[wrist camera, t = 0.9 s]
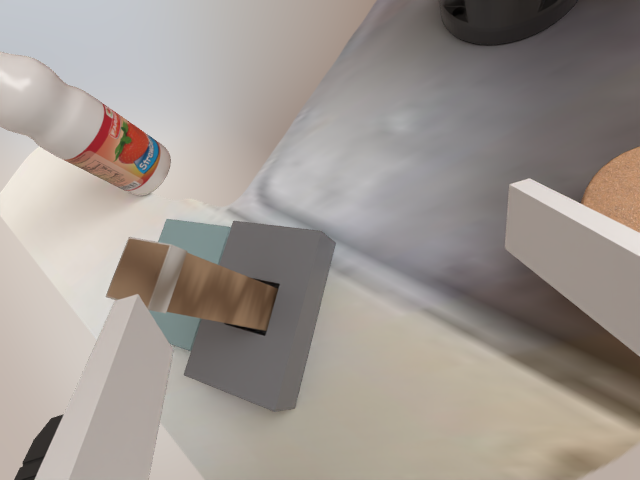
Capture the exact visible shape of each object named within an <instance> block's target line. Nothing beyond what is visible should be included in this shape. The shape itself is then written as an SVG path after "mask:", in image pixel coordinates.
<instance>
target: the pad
mask: <svg viewBox="0 0 640 480" xmlns="http://www.w3.org/2000/svg"><path fill="white" fill-rule="evenodd" d="M230 230H231V227H226V226H218V225H210V224H203V223H195V222H187V221H179V220H172V219H167V220H166V222H165V225H164V228H163V230H162V233H161V236H160V238H159V241H158V242H160V243H166V244H172V245H174V246H176V247H179V248H181V249H184V250H186V251H187V253H190V254H192V255H195V256H197V257H200V258H202V259H205V260H207V261H210V262H212V263H215V264H217V265H219V264H220V261H221V258H222V255H223V251H224V248H225V245H226V242H227V239H228V236H229V233H230ZM149 312H150V314H151V315H152V317H153V318H154V320H155V322H156V323H157V325H158V326H159V328H160V329H161V331H162V333H163V334H164V336H165V337H166V339H167V341H168V342H169V344H172V345H175V346H178V347H181V348H183V349H186V350H189V351H192V348H193V344H194V341H195V338H196V335H197V332H198V329H199V326H200V323H201V320H202V319H201V318H196V317H191V316H186V315H180V314H175V313H170V312H166V313H161V312H156V311H151V310H149Z"/></svg>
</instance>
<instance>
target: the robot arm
mask: <svg viewBox="0 0 640 480" xmlns="http://www.w3.org/2000/svg"><path fill="white" fill-rule="evenodd" d="M577 1H578V0H439V2H440V9H441V16H442V20H443V23H444V25H445V26H446V28H447V29H448V30H449V31H450V32H451V33H452V34H453V35H454V36H456V37H457V38H459V39H461V40H464V41H467V42H470V43H475V44H484V45H492V44H503V43H509V42H513V41H517V40H520V39H524V38H526V37H529V36H531V35H534V34H536V33H538V32H540V31H542V30H544V29H546V28H547V27H549V26H551V25H552V24H554V23H555V22H557V21H558V20H559V19H561V18H562V17H563V16H564V15H565V14H566V13H567V12H568V11H569V10H570V9H571V8H572V7H573V6H574V5H575V3H576V2H577ZM505 249H506V250H507V251H508V252H510V253H511V254H512V255H513V256H515V257H516V258H517V259H518V260H520V261H521V262H522V263H523V264H525V265H526V266H527V267H528V268H530V269H531V270H532V271H533V272H535V273H536V274H537V275H538V276H540V277H541V278H542V279H543V280H545V281H546V282H547V283H548V284H550V285H551V286H552V287H553V288H555V289H556V290H557V291H558V292H560V293H561V294H562V295H563V296H565V297H566V298H567V299H568V300H570V301H571V302H572V303H573V304H575V305H576V306H577V307H578V308H580V309H581V310H582V311H583V312H585V313H586V314H587V315H588V316H590V317H591V318H592V319H593V320H595V321H596V322H597V323H598V324H600V325H601V326H602V327H603V328H605V329H606V330H607V331H608V332H610V333H611V334H612V335H613V336H615V337H616V338H617V339H618V340H620V341H621V342H622V343H623V344H625V345H626V346H627V347H628V348H630V349H631V350H632V351H633V352H635V353H636V354H637V355H638V356H640V233H639V232H637V231H635V230H633V229H631V228H629V227H627V226H625V225H623V224H621V223H619V222H617V221H615V220H613V219H611V218H609V217H607V216H605V215H603V214H601V213H598V212H596V211H594V210H592V209H590V208H588V207H586V206H584V205H582V204H580V203H578V202H576V201H574V200H572V199H570V198H568V197H566V196H564V195H562V194H560V193H558V192H556V191H554V190H552V189H550V188H548V187H546V186H544V185H542V184H540V183H538V182H536V181H534V180H532V179H530V178H529V179H526V180H523V181H519V182H516V183H512V184H509V197H508V211H507V225H506V239H505ZM173 351H174V350H173V348H172V347H171V345H170V344H169V342H168V341H167V339H166V337H165V336H164V334H163V333H162V331H161V329H160V328H159V326H158V325H157V323H156V322H155V320H154V318H153V317H152V315H151V314H150V312H149V310H148V309H147V307H146V306H145V304H144V303H143V301H142V299H141V298H140V296H139V295H138V294H136V295H133V296H130V297H126V298H123V299H119V300H116V301H115V302H114V304H113V306H112V308H111V310H110V313H109V315H108V317H107V319H106V322H105V324H104V326H103V328H102V331H101V333H100V335H99V337H98V339H97V342H96V344H95V346H94V348H93V351H92V353H91V355H90V357H89V359H88V362H87V364H86V366H85V369H84V371H83V373H82V375H81V377H80V380H79V382H78V384H77V386H76V388H75V391H74V393H73V395H72V397H71V399H70V402H69V404H68V406H67V409H66V411H65V413H64V414H63V415H61V416H57V417H54V418H51V419H50V421H49V422H48V423H47V424H46V426H45V427H44V428H43V429H42V431H41V432H40V433H39V434H38V436H37V437H36V438H35V439H34V441H33V443H32V445H31V447H30V449H29V451H28V453H27V455H26V457H25V459H24V461H23V467H21V468H20V469H19V471H18V473H17V475H16V477H15V479H14V480H148V479H149V475H150V470H151V464H152V459H153V454H154V448H155V444H156V439H157V433H158V428H159V423H160V418H161V413H162V408H163V403H164V397H165V392H166V387H167V382H168V377H169V372H170V367H171V361H172V356H173Z"/></svg>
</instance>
